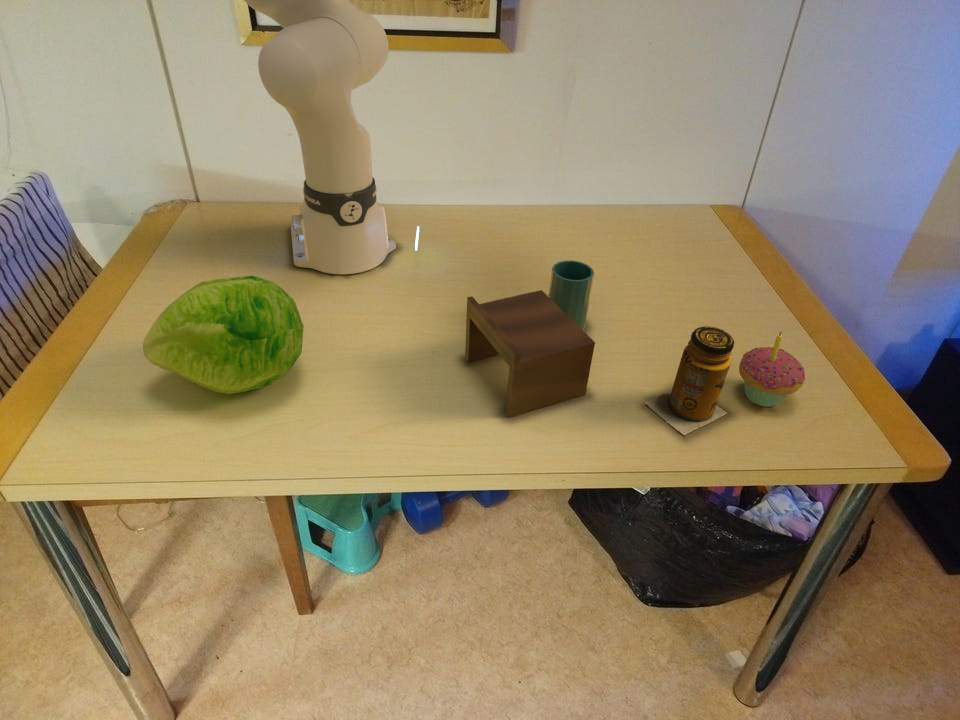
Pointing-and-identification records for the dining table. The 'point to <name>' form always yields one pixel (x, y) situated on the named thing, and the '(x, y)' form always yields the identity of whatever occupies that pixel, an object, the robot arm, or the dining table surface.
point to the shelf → (531, 349)
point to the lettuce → (228, 335)
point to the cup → (572, 289)
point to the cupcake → (770, 374)
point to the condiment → (697, 381)
